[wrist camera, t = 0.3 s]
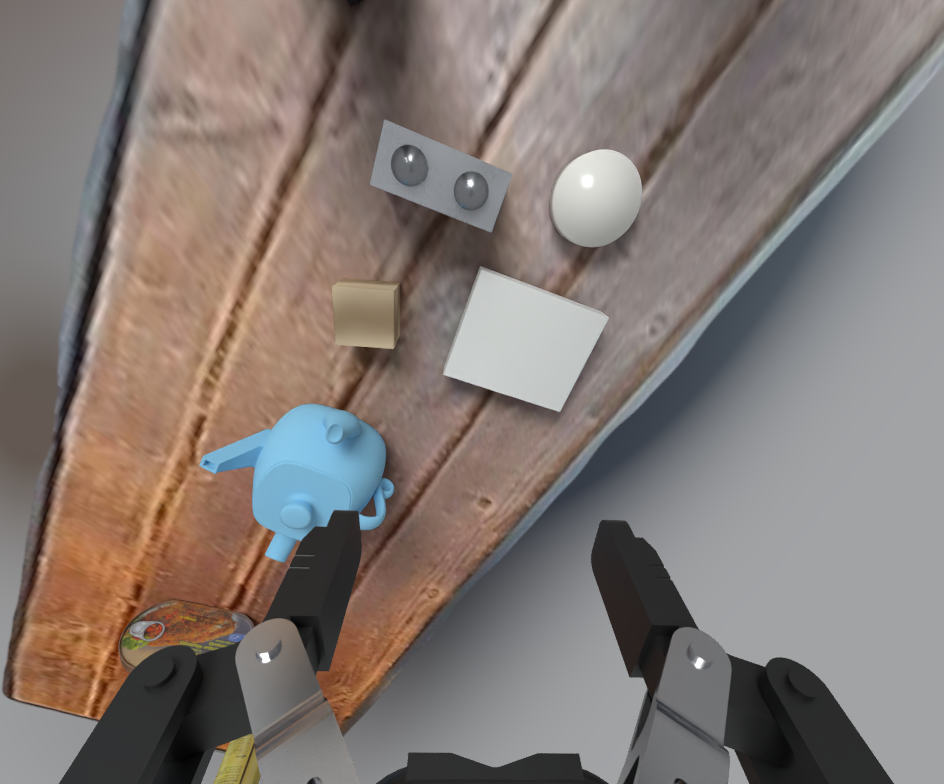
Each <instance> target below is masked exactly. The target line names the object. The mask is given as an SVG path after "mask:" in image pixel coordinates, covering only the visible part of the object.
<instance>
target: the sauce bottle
mask: <svg viewBox="0 0 944 784" xmlns="http://www.w3.org/2000/svg"><path fill="white" fill-rule="evenodd" d="M259 780H260V772H259V767H258V763H257V758H256V754H255V743H254V738H253V734H249V735H247V736H244V737H241V738H239V739H236V740H233V741H230V743H229V746H228V748H227V751H226V753H225V756H224V758H223V761H222V763H221V766H220V769H219V771H218V774H217V776H216V779H215V781H214V784H258V783H259Z"/></svg>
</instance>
